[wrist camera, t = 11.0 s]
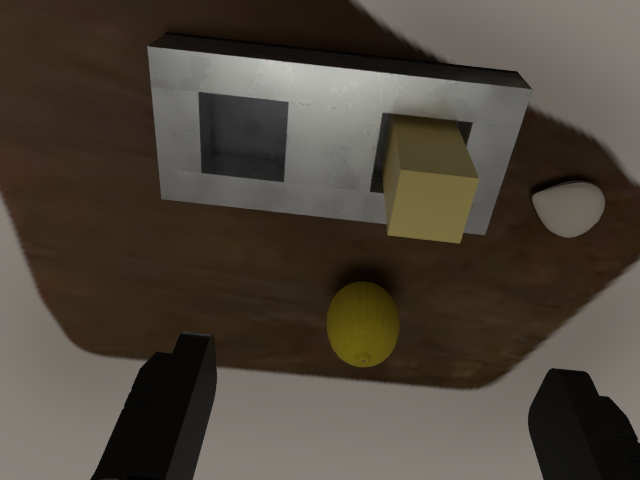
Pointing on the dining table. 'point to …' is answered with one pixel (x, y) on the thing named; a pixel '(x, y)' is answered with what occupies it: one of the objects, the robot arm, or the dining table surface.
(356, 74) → the panel
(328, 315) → the lemon
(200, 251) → the dining table surface
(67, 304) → the dining table surface
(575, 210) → the macaroon
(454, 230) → the plug
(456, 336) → the dining table surface
